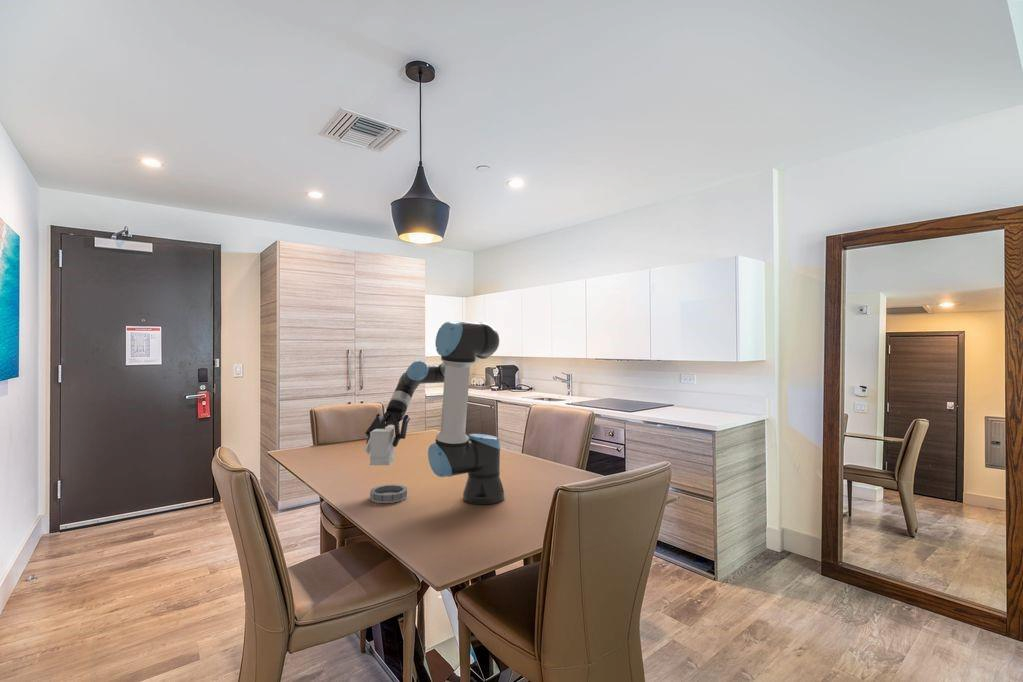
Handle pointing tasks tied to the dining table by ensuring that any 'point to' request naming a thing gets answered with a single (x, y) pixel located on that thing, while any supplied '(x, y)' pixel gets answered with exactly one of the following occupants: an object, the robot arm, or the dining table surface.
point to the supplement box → (381, 446)
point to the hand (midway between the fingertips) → (377, 452)
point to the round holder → (388, 493)
